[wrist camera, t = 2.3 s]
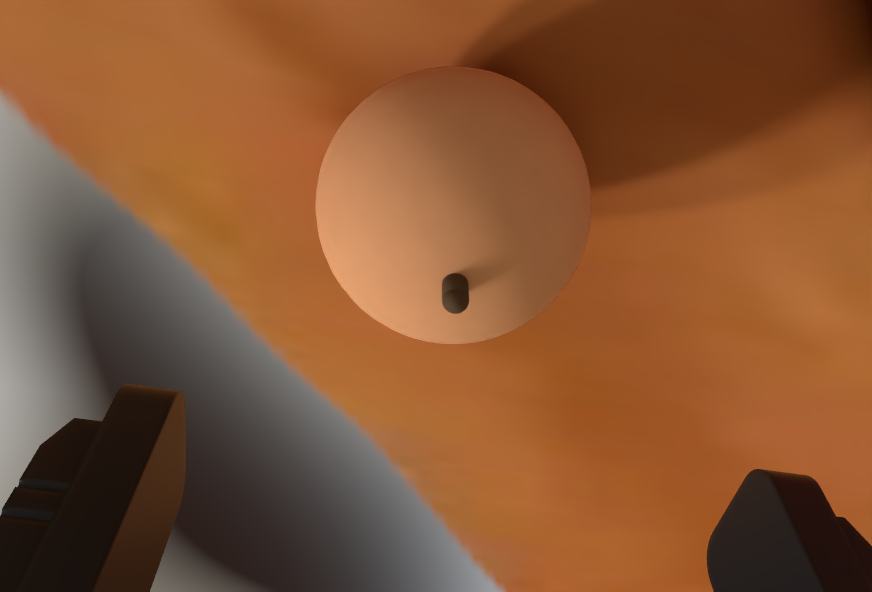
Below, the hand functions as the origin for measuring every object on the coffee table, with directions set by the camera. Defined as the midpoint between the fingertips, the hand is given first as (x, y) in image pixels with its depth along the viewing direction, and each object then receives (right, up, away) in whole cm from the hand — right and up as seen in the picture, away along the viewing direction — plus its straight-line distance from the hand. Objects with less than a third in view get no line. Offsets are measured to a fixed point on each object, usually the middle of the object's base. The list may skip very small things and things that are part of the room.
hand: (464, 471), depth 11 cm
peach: (0, +6, +8) cm, 10 cm away
